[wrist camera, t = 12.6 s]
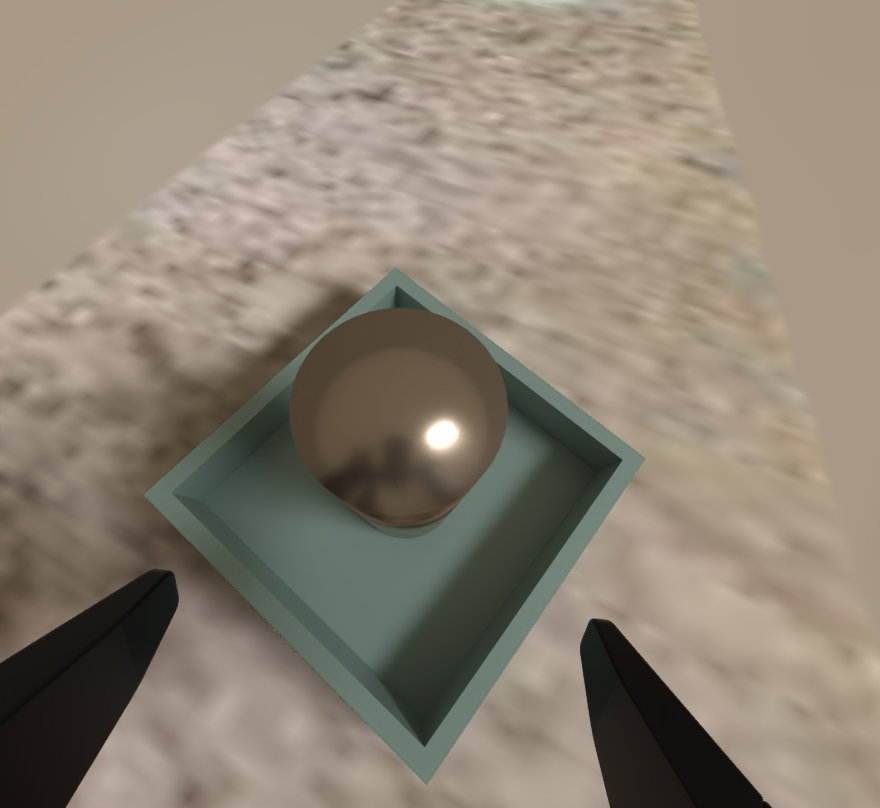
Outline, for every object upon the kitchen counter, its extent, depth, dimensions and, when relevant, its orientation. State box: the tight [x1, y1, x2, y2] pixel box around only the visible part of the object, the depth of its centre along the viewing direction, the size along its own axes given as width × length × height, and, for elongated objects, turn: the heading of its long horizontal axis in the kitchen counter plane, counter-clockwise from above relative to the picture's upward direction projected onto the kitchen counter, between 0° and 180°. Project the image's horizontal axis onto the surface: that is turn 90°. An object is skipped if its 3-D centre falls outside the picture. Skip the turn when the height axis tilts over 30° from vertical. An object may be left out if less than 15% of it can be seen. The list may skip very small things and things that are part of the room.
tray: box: [143, 268, 645, 785], centre depth 21 cm, size 16×16×4 cm
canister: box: [289, 308, 508, 538], centre depth 16 cm, size 5×5×13 cm
